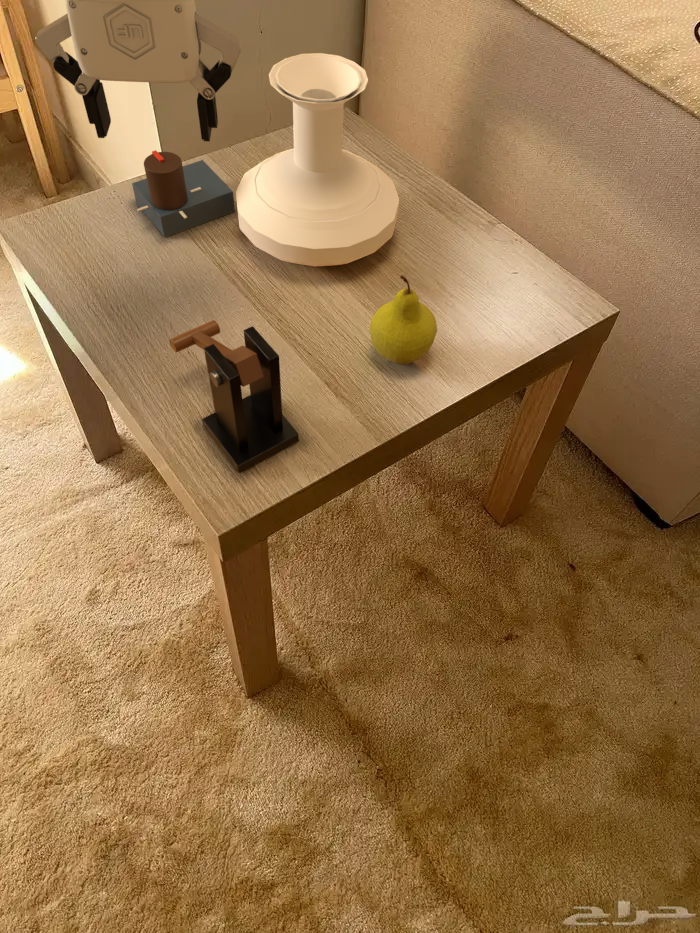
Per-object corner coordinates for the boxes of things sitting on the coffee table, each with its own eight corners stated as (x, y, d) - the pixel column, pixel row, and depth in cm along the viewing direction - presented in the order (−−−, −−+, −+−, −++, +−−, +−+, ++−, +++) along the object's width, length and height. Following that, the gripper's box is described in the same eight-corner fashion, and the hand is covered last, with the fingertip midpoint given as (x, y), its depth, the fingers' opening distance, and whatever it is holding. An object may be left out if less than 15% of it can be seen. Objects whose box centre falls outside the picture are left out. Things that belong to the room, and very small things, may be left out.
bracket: (203, 426, 71) (186, 343, 61) (262, 396, 74) (254, 312, 64) (238, 473, 68) (226, 394, 58) (299, 441, 71) (297, 360, 61)
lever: (174, 354, 71) (166, 333, 70) (217, 335, 73) (210, 314, 71) (229, 394, 61) (220, 370, 60) (277, 370, 63) (270, 346, 62)
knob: (194, 202, 87) (187, 163, 82) (161, 214, 85) (153, 174, 81) (177, 184, 89) (170, 145, 84) (145, 195, 87) (136, 156, 83)
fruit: (402, 323, 81) (414, 235, 71) (443, 357, 78) (463, 271, 68) (356, 350, 78) (363, 263, 68) (398, 386, 75) (411, 301, 65)
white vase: (421, 265, 87) (446, 112, 71) (266, 300, 82) (255, 145, 66) (360, 174, 97) (370, 22, 81) (219, 200, 92) (200, 45, 76)
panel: (158, 250, 86) (153, 228, 83) (123, 208, 90) (117, 186, 88) (242, 219, 90) (240, 197, 87) (205, 180, 94) (202, 158, 92)
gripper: (-16, -73, 50) (55, 151, 64) (228, -61, 51) (245, 157, 65) (10, -110, 54) (71, 108, 69) (235, -99, 55) (249, 114, 69)
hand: (156, 131), depth 67 cm, fingers open, 9 cm apart
